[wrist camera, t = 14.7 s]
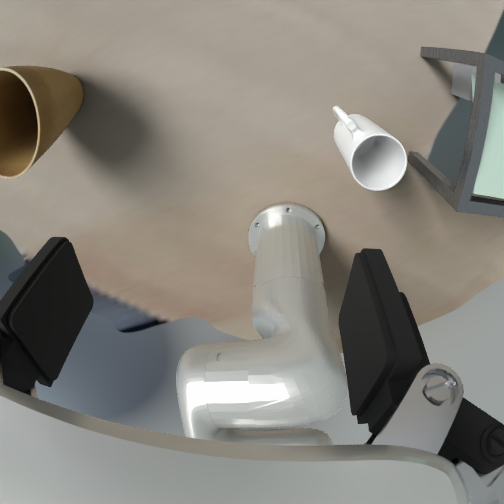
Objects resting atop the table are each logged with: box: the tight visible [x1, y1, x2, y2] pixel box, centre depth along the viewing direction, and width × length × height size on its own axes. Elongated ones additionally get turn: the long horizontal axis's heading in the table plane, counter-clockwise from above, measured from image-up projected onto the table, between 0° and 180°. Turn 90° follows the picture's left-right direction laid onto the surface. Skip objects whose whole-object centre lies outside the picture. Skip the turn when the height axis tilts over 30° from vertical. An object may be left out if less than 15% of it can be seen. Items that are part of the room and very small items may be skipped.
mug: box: [333, 106, 407, 191], centre depth 35 cm, size 10×7×12 cm, turn 43°
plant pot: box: [0, 66, 84, 179], centre depth 32 cm, size 15×15×16 cm
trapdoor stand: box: [408, 47, 504, 217], centre depth 30 cm, size 18×18×16 cm
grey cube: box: [451, 62, 501, 102], centre depth 31 cm, size 6×6×6 cm
